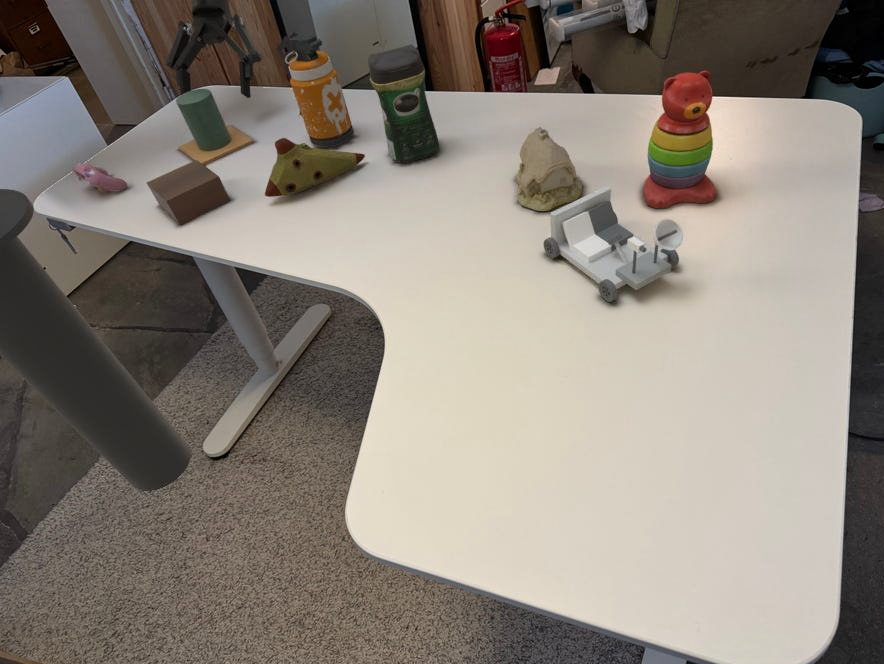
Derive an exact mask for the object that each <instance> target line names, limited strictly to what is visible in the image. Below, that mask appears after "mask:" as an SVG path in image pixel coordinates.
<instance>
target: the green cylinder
mask: <svg viewBox="0 0 884 664" xmlns="http://www.w3.org/2000/svg"><path fill="white" fill-rule="evenodd" d="M214 97H215V96H213V93H212V91H211V90H210V89H208V88H197V89H191V91H189V92H186V93H184V94H182V95H181V94H180V95H179V96H178V97H177V98H176V99H175V103H176V105H177V107H178V109H179V111H180V113H181V115H182V117H183V119H184V121H185V123H186V126H187V127H188V130H189V131H190V133H191V136H192V137H193V140H195V142H196V144H197V146H198V148H199V149H200V150H201V151H214V150H218V149H220V148H223V147H225V146H226V145H228V144H229V143H230V142H231V140H232V138H231V136H230V134H229V131H228V129H227V127H226V126H227V125H226V122H225V120H224V118H223V116H222V114H221V111H220V109H219V106H218V104H217V102H216V100H215V98H214Z"/></svg>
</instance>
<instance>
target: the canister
mask: <svg viewBox="0 0 884 664" xmlns="http://www.w3.org/2000/svg"><path fill="white" fill-rule="evenodd" d="M322 45H323V41H322V40H321V39H319V38H318V39H317V36H316V35H314V34H312V35H305V34H298V33H297V32H296V31H293V32H292V34H290V36H289V37H288V36H287V35H285V36H284V37H283V38H282V40H281V41H280V42H279V44H278V45H277V46H276V48H275V50H276V51H277V54H279V57H280V58H281V60H282V63H283V65H284V69H285V72H286V75H287V77H288V80H289V83H290V85H291V88H292V92H293V94H294V98H295V100H296V103H297V107H298V109H299V116H301V118H302V120H303V123H304V126H305V129H306V132H307V134H308V137H309V141H310V143H311V144H312V145H314V146H316V147H321V148H329V147H335V146H338V145H339V146H340V144H343V143H345V142H346V141H348V140H349V139H351V138H352V137H353V135H354V133H355V131H354V126H353V124H352V120H351V117H350V113H349V109H348V106H347V102H346V99H345V97H344V92H343V89H342V85H341V81H340V78H339V74H338V72H337V69H336V68H335V67H333V65H332V61H331V58H330V56H328V54H327V53H326V52H325V51H322V50H319V48H320V47H321V46H322ZM284 49H286V50H287V51H286V53H283V51H284Z"/></svg>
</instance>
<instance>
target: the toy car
mask: <svg viewBox="0 0 884 664" xmlns="http://www.w3.org/2000/svg"><path fill="white" fill-rule="evenodd" d="M611 195H612V189H611V187H609V186H607V185H606V186H603V187H601V188H600V189H597V190H594V191H593V192H591V193H589V194H586V195H585V196H582V197H580V198H577V199H576V200H574V201H571V202H569V203H567V204H566V205H564V206H562V207H559V208H558V209H556V210H554V211H551V212H550V213H549V217H550V218H549V219H550V237H547V238H545V239H544V240H543V249H544V251H545V254H546V255H547V256H548V257H549V258H550V259H556V258H558V257H559V256H562V257H563V258H564V259H565V260H567V261H568V262H569V263H571V264H572V265H573V266H574V267H576V268H578V269H579V270H580V271H581V272H582V273H584V274H585V275H586V276H588V277H590V279H592V280H593V281H594V282H596V283H597V284H598V291H599V294H600V296H601V297H602V299H604V300H605V301H606V302H608V303H611V302H613V301H615V300H616V299H618V289H621V288H622V287H623V286H626V285H628V286H629V287H631V288H632V289H634V290H635V291H638V290H639V289H641V288H643V287H645V286H647V285H648V284H650V283H652V282H654V281H656V280H658V279H659V278H661V277H663V276H665V275H666V274H668V273H670V272H671V271H672V269H674V268H675V267H677V266H678V265H679V263H680V256H679V254H678V252H677V249H678V248H679V247H680V246H681V245H682V243H683V241H684V233H683V230H682V228H681V226H680V224H679V223H678V222H677V221H675V220H674V219H671V218H664V219H661V220H660V221H659V222H658V223H657V224H656V226H655V228H654V231H653V233H652V234H653V235H652V240H653V243H654V246H653V245H652V244H650V243H649V242H647V241H645V240H644V239H642V238H641V237H640V236H638V235H636V234H635V233H633V232H632V231H630V230H628V229H627V228H625V227H624V226H622V225H621V224H619V219H618V216H617V214H616V212H615V211H614V208H613V204H612V201H611V199H612V197H611ZM659 248H661V249H660V250H659Z"/></svg>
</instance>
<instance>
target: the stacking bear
mask: <svg viewBox="0 0 884 664" xmlns="http://www.w3.org/2000/svg"><path fill="white" fill-rule="evenodd" d="M710 80H711V73H710V72H709V71H708V70H701V71H700V72H699V73H696V72H687V71H686V72H681V73H679V74H677V75H675V76H671V77H668V78H667V79H665V81H664V82H663V90H662V94H661V104H662V108H663V112H662V113H661V115H660V116H659V118H658V119H657V120H656V122H655V123H654V124H653V128H652V131H651V134H650V135H651V136H650V137H649V141H648V147H647V163H648V167H649V174H648V176H647V178H646V179H645V182H644V185H643V189H642V190H643V191H642V196H643V199H644V202H645V204H646V205H647V206H649V207H652V208H655V209H664V208H668V207H671V206H672V205H674V204H677V203H684V202H685V203H686V202H689V203H695V204H706V203H711V202H713V200H715V199H716V197H717V188H716V186H715V184H714V183H713V181H712V179H710V177H708V175H707V174H706V172H707V169H708V166H709V164H710V161H711V158H712V155H713V154H712V153H713V150H714V149H713V147H714V139H713V129H712V124H711V119H710V115H709V114H708V113H707V112H708V111H709V110H710V107H711V105H712V101H713V89H712V86H711V84H710Z"/></svg>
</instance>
